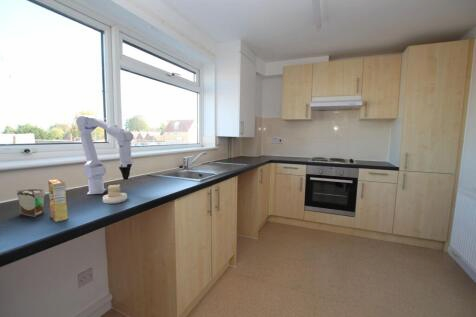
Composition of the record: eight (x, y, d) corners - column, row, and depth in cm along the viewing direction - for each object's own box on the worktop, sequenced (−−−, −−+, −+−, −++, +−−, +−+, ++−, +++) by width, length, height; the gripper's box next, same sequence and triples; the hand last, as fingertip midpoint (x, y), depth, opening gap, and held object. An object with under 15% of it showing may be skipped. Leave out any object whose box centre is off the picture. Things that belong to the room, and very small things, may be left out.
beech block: (109, 194, 117) (109, 185, 116) (120, 193, 118) (120, 184, 118) (108, 197, 112) (107, 187, 111) (119, 196, 114) (119, 186, 113)
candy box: (50, 216, 93) (47, 180, 91) (63, 213, 96) (60, 178, 94) (55, 222, 87) (52, 183, 85) (68, 219, 90) (65, 182, 88)
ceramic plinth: (104, 198, 119) (104, 193, 118) (127, 196, 123) (127, 191, 122) (101, 204, 109) (100, 199, 108) (126, 202, 113) (126, 197, 112)
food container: (54, 212, 97) (52, 190, 96) (37, 217, 92) (35, 193, 91) (35, 208, 101) (33, 187, 100) (18, 213, 96) (16, 190, 94)
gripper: (132, 154, 116) (133, 180, 118) (134, 152, 129) (135, 175, 131) (117, 155, 113) (118, 181, 115) (120, 152, 127) (121, 176, 128)
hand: (126, 178), depth 123 cm, fingers open, 7 cm apart
